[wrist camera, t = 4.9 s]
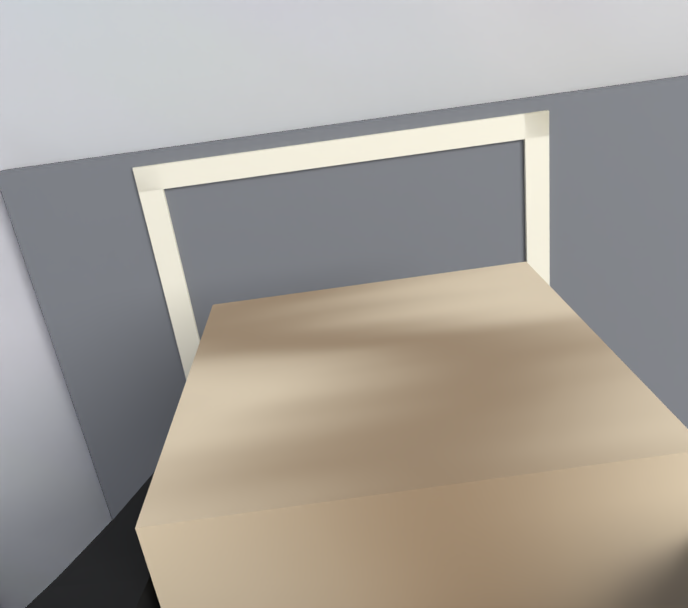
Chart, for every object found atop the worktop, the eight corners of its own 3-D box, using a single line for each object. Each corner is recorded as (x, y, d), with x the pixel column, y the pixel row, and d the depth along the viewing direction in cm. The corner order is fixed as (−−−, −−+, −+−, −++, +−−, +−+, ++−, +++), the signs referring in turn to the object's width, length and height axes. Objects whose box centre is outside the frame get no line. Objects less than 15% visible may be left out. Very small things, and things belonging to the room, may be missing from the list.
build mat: (202, 766, 21) (200, 783, 20) (3, 169, 13) (-7, 175, 13) (780, 684, 21) (790, 699, 21) (909, 44, 13) (930, 45, 13)
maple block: (267, 547, 12) (242, 860, 8) (213, 305, 10) (134, 528, 6) (530, 510, 12) (667, 802, 8) (526, 261, 10) (707, 449, 6)
